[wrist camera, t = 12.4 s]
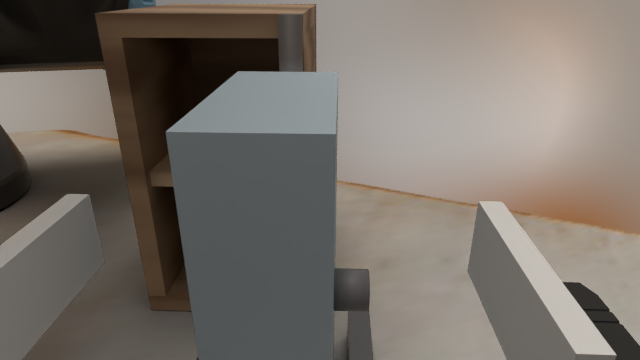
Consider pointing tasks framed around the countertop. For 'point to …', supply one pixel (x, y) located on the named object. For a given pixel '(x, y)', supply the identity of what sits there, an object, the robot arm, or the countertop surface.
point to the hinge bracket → (358, 336)
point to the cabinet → (184, 101)
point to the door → (263, 217)
